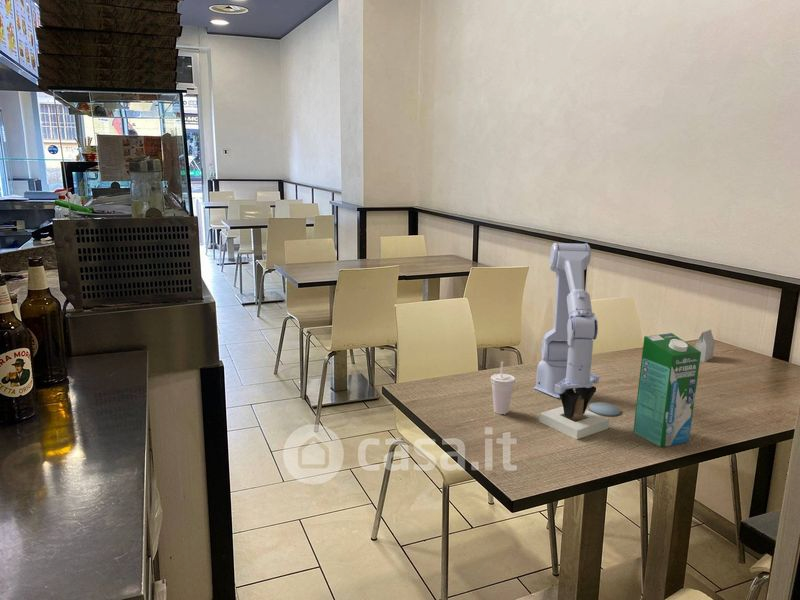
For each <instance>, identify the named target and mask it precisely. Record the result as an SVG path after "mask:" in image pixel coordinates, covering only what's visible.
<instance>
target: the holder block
mask: <svg viewBox="0 0 800 600" xmlns="http://www.w3.org/2000/svg"><path fill="white" fill-rule="evenodd" d="M539 423H541V424H543V425H544V426H547V427H549V428H552V429H553V428H554V430H556V431H558V432H559V433H562V434H564V435H566V436H568V437H570V438H571V439H572V438H573V439H574V440H580V439H581V438H584V437H588V436H590V435H593V434H596V433H600V432H602V431H605V430H608V429H609V425H610V424H609V423H610V419H609V418H607V417H604V416H603V415H599V414H596V413H593V412H592V411H591V410H588V409H586V411H585V413H584V414H583V418H582V420H581V421H578V422H574V421H572V420H570V419H567V418H566V416H565V415H564V409H563V405H562V406H559V407H556V408H552V409H549V410H546V411H543V412H539Z"/></svg>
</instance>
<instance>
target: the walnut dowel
mask: <svg viewBox="0 0 800 600" xmlns="http://www.w3.org/2000/svg"><path fill="white" fill-rule="evenodd" d="M583 407H584V397H582V396H580V395H579V397H578V399H577V401H576V404H575V409H574V414H573V417H572V418H569V417H567V416H566V418H567V419H570V420H572V421H574V422H578V421H581V420H582V418H583Z"/></svg>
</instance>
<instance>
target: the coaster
mask: <svg viewBox="0 0 800 600" xmlns="http://www.w3.org/2000/svg"><path fill="white" fill-rule="evenodd" d="M588 409H589V411H590V412H593V413H595V414H597V415H600V416H602V417H604V416H605V417H615V416H618V415H620V414H621V408H620V407H619V406H617V405H615V404H612V403H608V402H601V401H600V402H599V401H598V402H591V403H590V404H589V407H588Z"/></svg>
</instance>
